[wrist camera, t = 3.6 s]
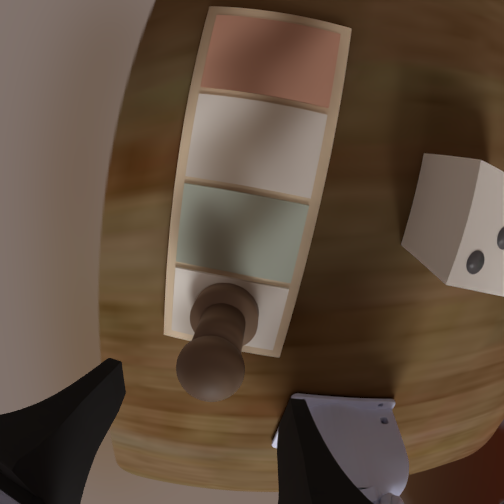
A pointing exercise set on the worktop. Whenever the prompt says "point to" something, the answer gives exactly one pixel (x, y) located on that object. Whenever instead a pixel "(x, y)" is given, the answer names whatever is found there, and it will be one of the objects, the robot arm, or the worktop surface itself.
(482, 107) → the worktop surface
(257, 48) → the board
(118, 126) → the worktop surface
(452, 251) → the die
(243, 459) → the worktop surface
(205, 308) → the pawn
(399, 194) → the worktop surface
